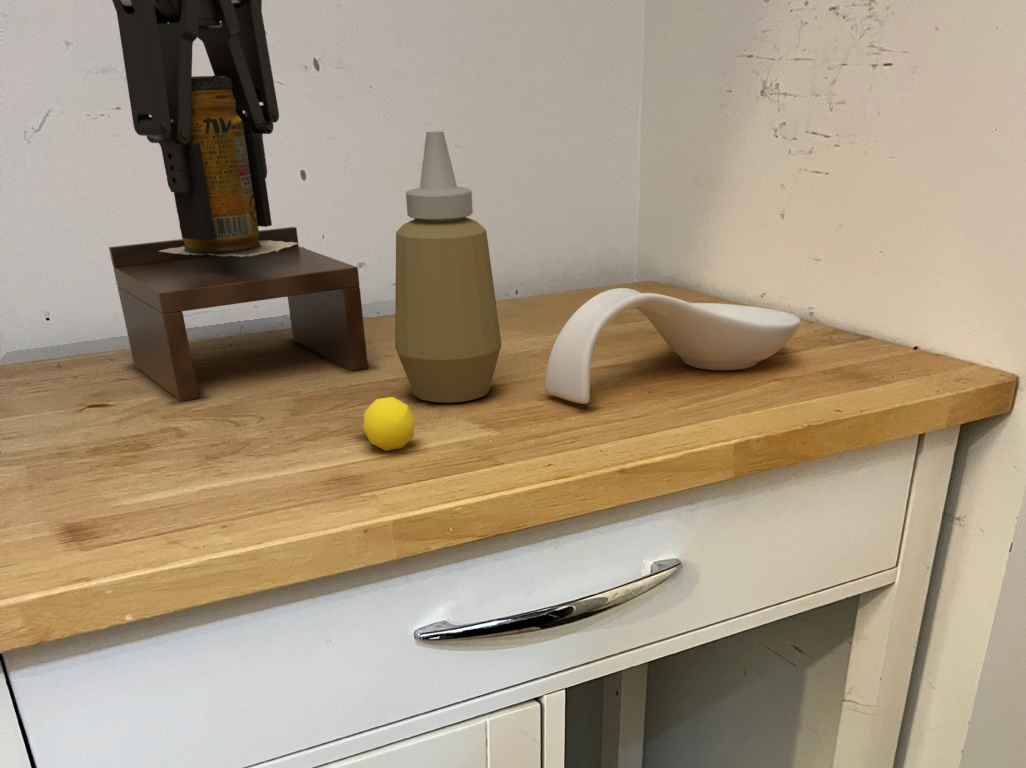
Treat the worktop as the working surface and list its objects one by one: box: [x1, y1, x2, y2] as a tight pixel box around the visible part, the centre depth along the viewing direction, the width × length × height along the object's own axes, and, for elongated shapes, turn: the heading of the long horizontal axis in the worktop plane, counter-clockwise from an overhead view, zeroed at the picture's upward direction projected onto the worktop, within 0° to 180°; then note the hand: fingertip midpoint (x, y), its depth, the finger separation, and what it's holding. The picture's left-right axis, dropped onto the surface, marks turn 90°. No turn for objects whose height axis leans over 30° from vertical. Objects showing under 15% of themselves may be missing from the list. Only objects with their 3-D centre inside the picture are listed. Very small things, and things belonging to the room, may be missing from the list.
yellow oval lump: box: [362, 396, 416, 452], centre depth 74 cm, size 3×6×4 cm, turn 26°
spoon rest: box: [543, 287, 801, 405], centre depth 86 cm, size 24×12×7 cm, turn 130°
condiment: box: [160, 75, 300, 257], centre depth 84 cm, size 7×8×12 cm
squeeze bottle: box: [394, 130, 502, 404], centre depth 80 cm, size 8×8×18 cm
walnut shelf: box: [108, 226, 369, 402], centre depth 90 cm, size 16×13×10 cm
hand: (228, 231), depth 87 cm, fingers closed on condiment, 6 cm apart
